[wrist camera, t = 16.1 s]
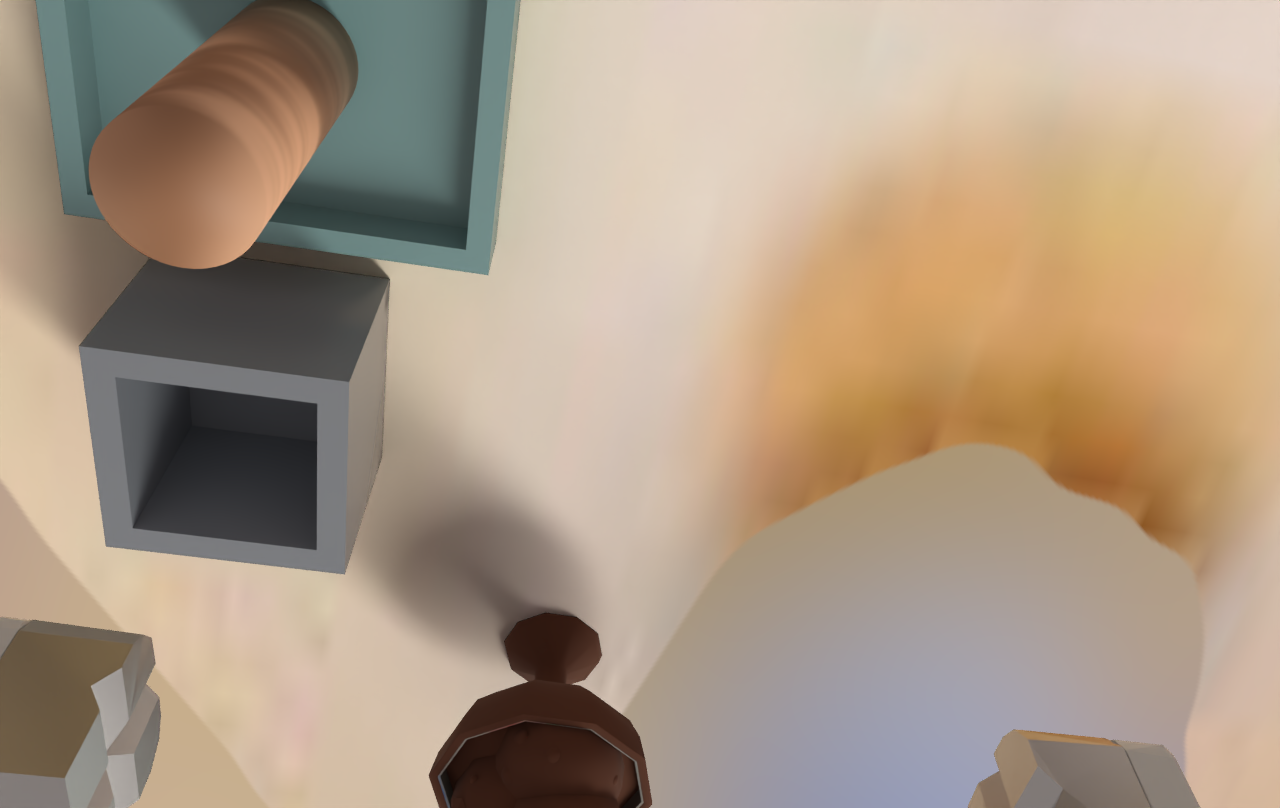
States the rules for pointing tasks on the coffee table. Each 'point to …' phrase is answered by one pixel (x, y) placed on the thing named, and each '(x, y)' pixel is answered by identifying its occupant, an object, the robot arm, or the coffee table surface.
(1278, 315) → the coffee table surface
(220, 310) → the grey open square box
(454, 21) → the tray
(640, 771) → the ice cream bowl
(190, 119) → the peg
